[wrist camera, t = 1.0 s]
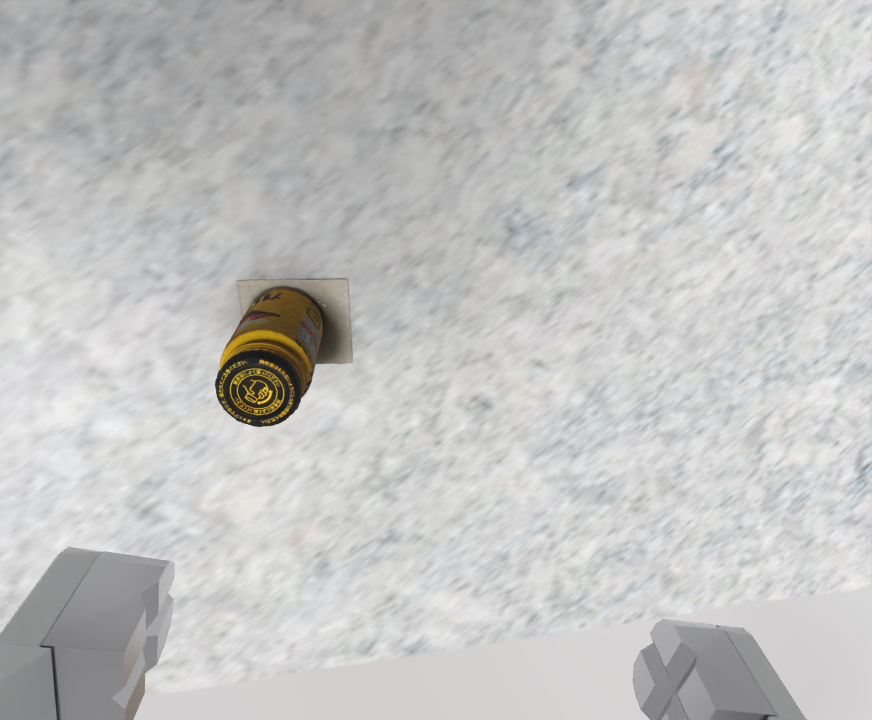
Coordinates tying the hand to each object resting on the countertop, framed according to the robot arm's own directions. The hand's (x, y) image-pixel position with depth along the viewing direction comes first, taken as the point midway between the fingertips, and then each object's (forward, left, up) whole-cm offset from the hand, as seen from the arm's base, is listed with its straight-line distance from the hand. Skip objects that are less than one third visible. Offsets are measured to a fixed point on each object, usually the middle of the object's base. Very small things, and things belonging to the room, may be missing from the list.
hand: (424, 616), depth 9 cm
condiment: (-1, -12, -37) cm, 39 cm away
